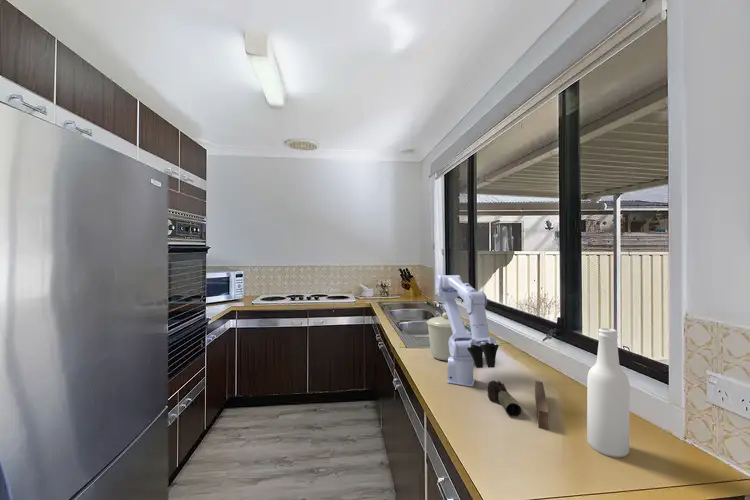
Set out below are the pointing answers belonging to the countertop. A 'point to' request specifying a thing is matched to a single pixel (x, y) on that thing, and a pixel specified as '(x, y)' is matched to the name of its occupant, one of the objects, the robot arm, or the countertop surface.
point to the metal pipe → (503, 398)
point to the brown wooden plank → (541, 406)
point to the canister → (440, 336)
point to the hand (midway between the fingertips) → (485, 367)
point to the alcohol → (608, 400)
